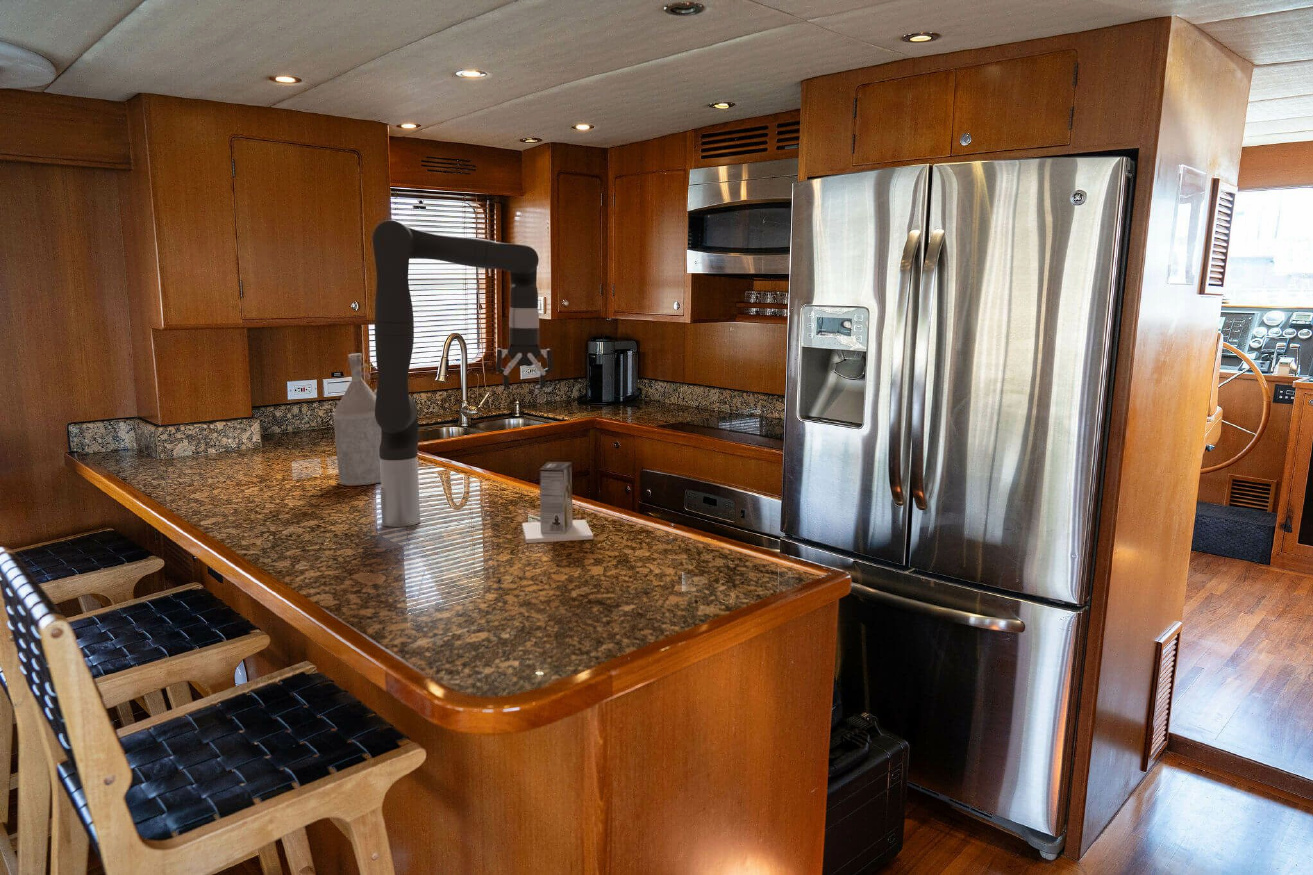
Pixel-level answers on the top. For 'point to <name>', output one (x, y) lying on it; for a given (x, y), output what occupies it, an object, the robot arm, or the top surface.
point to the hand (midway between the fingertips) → (524, 389)
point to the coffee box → (556, 497)
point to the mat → (575, 532)
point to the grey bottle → (357, 431)
